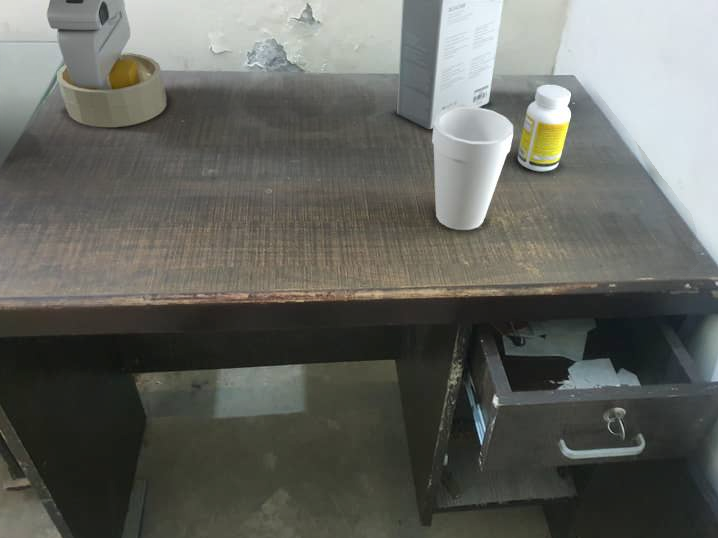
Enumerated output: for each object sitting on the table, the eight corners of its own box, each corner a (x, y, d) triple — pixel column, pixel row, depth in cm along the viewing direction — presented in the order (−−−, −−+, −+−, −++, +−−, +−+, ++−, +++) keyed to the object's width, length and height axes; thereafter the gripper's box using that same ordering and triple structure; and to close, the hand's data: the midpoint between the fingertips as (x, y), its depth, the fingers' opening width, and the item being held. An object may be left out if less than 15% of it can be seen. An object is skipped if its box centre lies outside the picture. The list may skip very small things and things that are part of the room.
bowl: (54, 126, 94) (43, 90, 90) (82, 84, 104) (73, 51, 101) (157, 128, 95) (149, 93, 91) (174, 86, 106) (168, 53, 102)
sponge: (90, 109, 97) (79, 71, 93) (97, 96, 100) (87, 59, 96) (137, 110, 98) (128, 72, 93) (143, 97, 101) (135, 60, 97)
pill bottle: (565, 163, 95) (585, 92, 88) (543, 177, 91) (561, 105, 84) (531, 147, 98) (547, 78, 90) (508, 161, 94) (523, 90, 87)
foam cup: (414, 200, 85) (423, 109, 76) (477, 192, 87) (492, 103, 79) (439, 242, 78) (452, 148, 70) (507, 232, 81) (527, 140, 72)
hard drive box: (455, 88, 112) (471, -34, 99) (489, 104, 108) (510, -22, 95) (394, 114, 103) (402, -17, 90) (428, 131, 100) (442, -3, 86)
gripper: (84, -28, 95) (108, 62, 105) (41, 20, 80) (73, 121, 90) (128, -27, 96) (147, 63, 105) (93, 21, 81) (119, 121, 90)
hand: (113, 90), depth 97 cm, fingers closed on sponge, 4 cm apart
